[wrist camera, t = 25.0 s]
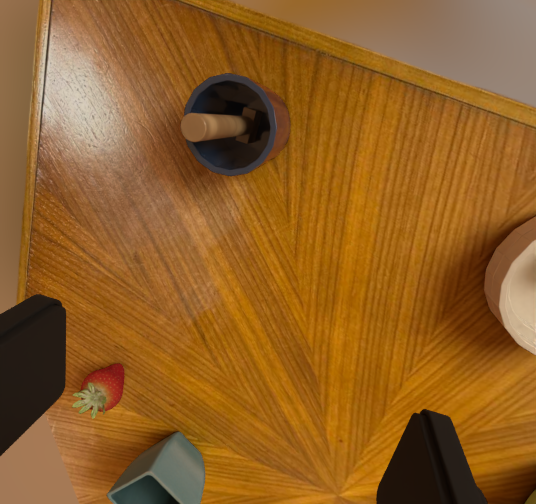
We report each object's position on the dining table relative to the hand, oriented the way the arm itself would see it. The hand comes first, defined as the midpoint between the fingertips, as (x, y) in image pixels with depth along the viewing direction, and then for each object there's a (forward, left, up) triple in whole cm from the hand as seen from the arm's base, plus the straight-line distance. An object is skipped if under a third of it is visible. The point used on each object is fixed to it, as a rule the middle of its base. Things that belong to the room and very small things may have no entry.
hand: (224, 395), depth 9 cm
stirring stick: (-5, -7, -30) cm, 31 cm away
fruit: (+30, -19, -31) cm, 47 cm away
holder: (-5, -7, -30) cm, 31 cm away
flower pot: (+41, -9, -31) cm, 52 cm away
